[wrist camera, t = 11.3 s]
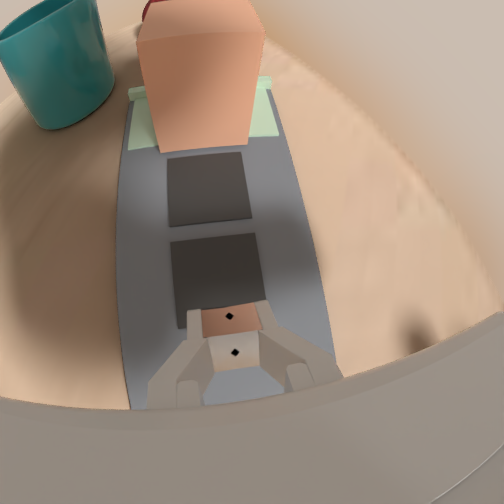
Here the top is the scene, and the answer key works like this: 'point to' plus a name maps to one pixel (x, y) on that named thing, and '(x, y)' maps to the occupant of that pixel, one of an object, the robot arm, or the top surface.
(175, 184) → the track
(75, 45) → the cup
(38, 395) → the top surface
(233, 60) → the terracotta block
